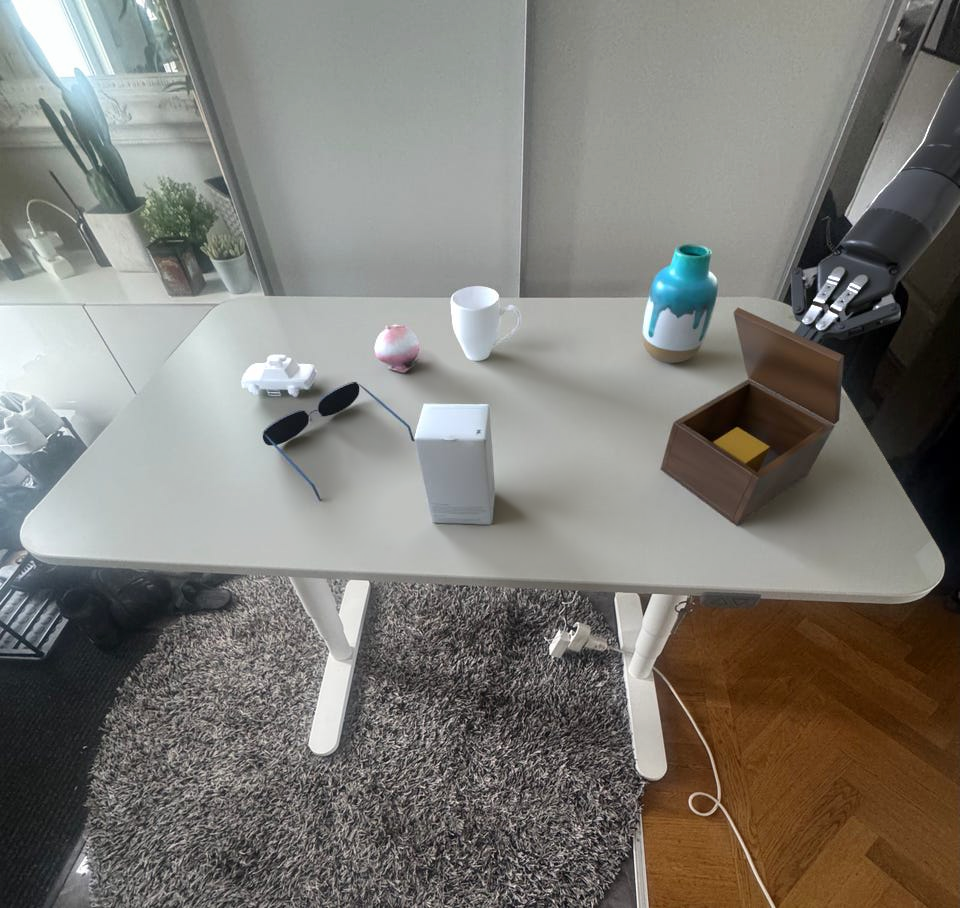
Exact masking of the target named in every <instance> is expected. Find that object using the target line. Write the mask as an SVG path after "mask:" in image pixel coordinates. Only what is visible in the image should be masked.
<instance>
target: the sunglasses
mask: <svg viewBox="0 0 960 908" xmlns="http://www.w3.org/2000/svg"><path fill="white" fill-rule="evenodd" d="M360 387H361V388H362V389H363V391H365V393H367V394H368V395H369V396H370V397H372V398H373V399H374V400H375V401H376V402H377V403H379V404H380V405H381V406H382V407H383V408H384V409H386V411H388V412H389V413H390V414H391V415H392V416H394V417H395V418H396V419H397V420H398V421H399V422H401V423H402V424H403V425H404V426H405V427H406V428H407V430H408V433H409V437H410V439H411V441H412V442H415V440H414V438H415V437H414V435H413V432H412V429H411V427H410V425H409V424H408V423H407V422H406V421H405V420H404V419H403V418H402V417H400V416H399V415H398V414H397V413H396V412H394V411H393V410H392V409H391V408H390V407H388V406H387V405H386V404H385V403H383V402H382V401H381V400H380V399H379V398H378V397H376V396H375V395H374V394H373V393H372V392H370V391H369V390H368V389H367V388H366V387H365V386H363V385H361V384H360V383H358V382H357V381H351V382H347V383H345V384H343V385H340V386H338V387H336V388H334V389H333V390H331V391H330V392H328V393H326V394H325V395H324V396H323V397H321V398H320V400H319V401H318V403H317V409H313V410H311V411H310V413H309V414H308V413H307V411H306V410H304V409H300V410H298V409H297V410H295V411H293V412H290V413H288V414H285V415H283V416H282V417H280V418H278V419H276V420H274V421H273V422H272V423H270V424H269V425H268V426H266V427H265V428H264V430H263V431H262V433H261V435H262V440H263V443H264V444H265V445H266V446H274V448H275V449H276V450H277V451H278V452H279V453H280V454H281V455H282V456H283V457H284V459H285V460H286V461H287V462H288V463H289V464H290V465H291V466H292V467H293V468H294V469H295V470H296V471H297V472H298V474H300V475H301V477H302V478H303V479H304V480H305V481H306V482H307V483H308V484H309V485H310V486H311V488H312V489H313V492H314V493H315V496H316V497H317V499H318V501H319V502H321V501H322V499H321V496H320V494H319V492H318V490H317V487H316V486H315V484H314V483H313V482H312V481H311V480H310V479H309V477H307V475H306V474H305V473H304V472H303V471H302V470H301V469H300V468H299V467H298V465H297V464H295V463H294V462H293V461H292V459H290V457H289V456H288V455H287V454H286V453H284V451H283V450H282V449H281V447H279V446H278V445H281V444H285V443H286V442H288V441H290V440H292V439H293V438H295V437H296V436H298V435H299V434H300V433H301V432H303V430H305V429H306V428H307V426H308V425H309V423H310V424H311V423H312V421H313V420H312V419H313V418H312V416H311V414H312V413H313V412H317V414H318V415H319V416H320V417H323V418H324V417H329V416H334V415H336V414H339V413H341V412H342V411H344V410H346V409H347V408H349V407H350V406H351V405H352V404H353V403H354V402H355V401H356V400H357V399H358V398H359V395H360Z"/></svg>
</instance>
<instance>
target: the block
mask: <svg viewBox="0 0 960 908" xmlns="http://www.w3.org/2000/svg"><path fill="white" fill-rule="evenodd" d="M713 444H715V445H716V446H718V447H719V448H721V449H723V450H724V451H726V452H727V453H729V454H730V455H732V456H733V457H735V458H736V459H738V460H739V461H741V462H742V463H744V464H746V465H747V466H749V467H750V468H752V469H753V470H755V471H756V472H758V471H759V469H760V467H761V465H762V463H763V461H764V459H765V456H766V454H767V452H768V450H769V448H770V446H768V445H766V444H765V443H763V442H761V441H760V440H758V439H756V438H755V437H753V436H751V435H750V434H748V433H747V432H745V431H743V430H742V429H740V428H738V427H736V428H735V429H733V430H731V431H730V432H728V433H727V434H725V435H723V436H722V437H720V438H719V439H717V440H716V441H714V442H713Z"/></svg>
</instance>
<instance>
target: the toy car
mask: <svg viewBox="0 0 960 908" xmlns="http://www.w3.org/2000/svg"><path fill="white" fill-rule="evenodd" d="M266 360H267V361H266V362H263V363H254V364H252V365H250V366H249V367H248V368H247V370H246V372H245V373H244V374H243V376H242V380H241V383H240V384H241V387H242V389H246V388H248V391H249V392H250V393H251V394H253V395H254V396H258V395H259V393H260V392H261V390H266V392H267V395H268V396H273V397H277V396H278V397H281V396H282V394H281V390H287V392H288V394H289V395H290V396H293V397H294V398H297V397H298V395H299V393H300V390H310V388H311V387H312V386H313V384H314V382H315V381H316V378H317V376H318V370H317V369H316V366H314V365H313V364H312V363H311V364H310V363H309V364H308V363H297V362H296V361H295V360H294V359H292V358H291V357H288V356H286V355H285V354H271V355H269V356H267V357H266ZM269 390H278V391H269Z"/></svg>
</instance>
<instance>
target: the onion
mask: <svg viewBox="0 0 960 908" xmlns="http://www.w3.org/2000/svg"><path fill="white" fill-rule="evenodd" d="M420 350H421V348H420V343H419V340H418V338H417V336H416V334H415V333H414V332H413V331H412V330H411V329H410V328H408V327H406V326H405V325H400V324H393V325H386V326H385V329H383V330H382V331H381V332H380V333H379V334H378V335H377V338H376V339H375V344H374V353H375V356H376V358H377V359H378V360H379V361H381V362H382V363H385V364H387V369H388V370H392V371H395V372H398V373H403V374H405V373H406V372H407V371H408V370H410V369H411V368H412V367H414V366H415V365H416V363H417V362H418V361H419V360H421V357H420V358H418V356H419V354H420ZM417 358H418V359H417ZM416 359H417V360H416ZM415 360H416V361H415ZM414 361H415V362H414ZM413 362H414V364H412V365H411V366H407V365H408V364H410V363H413Z"/></svg>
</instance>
